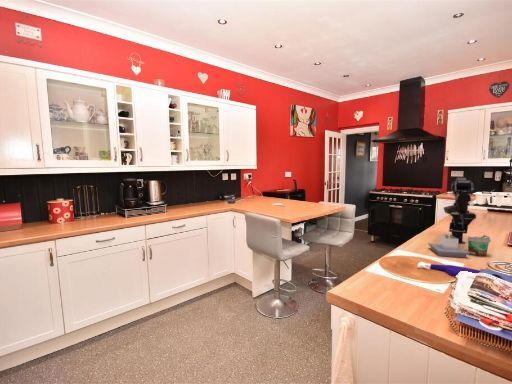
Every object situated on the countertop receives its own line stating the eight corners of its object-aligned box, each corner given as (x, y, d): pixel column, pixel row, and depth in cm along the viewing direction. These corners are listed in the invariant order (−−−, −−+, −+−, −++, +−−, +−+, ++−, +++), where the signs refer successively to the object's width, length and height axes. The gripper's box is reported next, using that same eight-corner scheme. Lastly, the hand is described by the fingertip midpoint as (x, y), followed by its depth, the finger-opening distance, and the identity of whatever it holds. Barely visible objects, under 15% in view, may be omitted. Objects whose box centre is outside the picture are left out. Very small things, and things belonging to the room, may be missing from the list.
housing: (438, 246, 144) (439, 233, 143) (452, 246, 142) (454, 234, 142) (442, 248, 139) (443, 236, 139) (457, 249, 138) (458, 236, 137)
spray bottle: (485, 270, 112) (420, 258, 128) (486, 279, 103) (416, 264, 119) (485, 277, 112) (419, 263, 128) (486, 286, 104) (416, 270, 120)
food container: (478, 258, 134) (480, 239, 133) (466, 254, 140) (467, 236, 138) (495, 255, 137) (497, 237, 136) (482, 252, 143) (484, 234, 142)
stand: (428, 248, 150) (428, 243, 149) (455, 250, 146) (455, 245, 146) (438, 256, 136) (439, 251, 136) (469, 258, 133) (469, 253, 133)
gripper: (438, 198, 159) (437, 223, 161) (454, 203, 141) (451, 230, 143) (459, 199, 157) (457, 224, 158) (477, 204, 138) (475, 231, 140)
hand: (459, 227), depth 150 cm, fingers open, 9 cm apart
